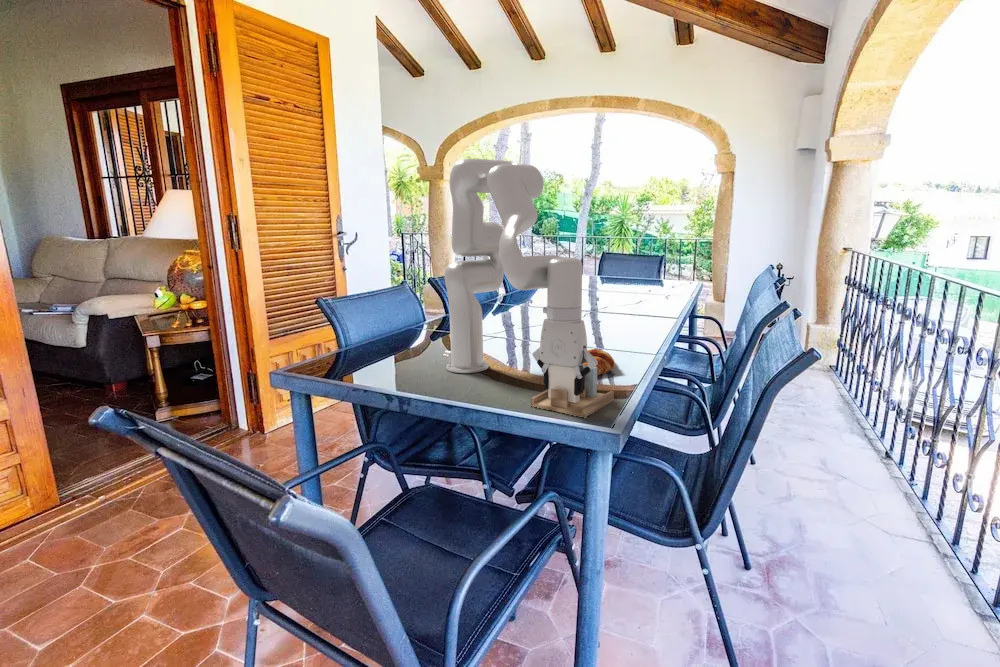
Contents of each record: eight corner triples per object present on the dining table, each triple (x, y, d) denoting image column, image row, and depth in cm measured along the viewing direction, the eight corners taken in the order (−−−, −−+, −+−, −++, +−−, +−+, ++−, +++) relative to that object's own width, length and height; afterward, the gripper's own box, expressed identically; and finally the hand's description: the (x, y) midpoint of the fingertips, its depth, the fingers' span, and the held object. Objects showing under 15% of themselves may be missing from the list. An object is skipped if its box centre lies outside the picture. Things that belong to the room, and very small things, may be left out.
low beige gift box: (548, 397, 121) (548, 364, 119) (552, 395, 123) (552, 362, 121) (575, 403, 117) (575, 368, 115) (579, 400, 118) (580, 366, 117)
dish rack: (530, 406, 122) (530, 373, 120) (562, 389, 134) (562, 359, 132) (585, 418, 114) (585, 383, 112) (613, 399, 125) (614, 367, 124)
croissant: (598, 371, 162) (587, 348, 163) (627, 359, 157) (615, 335, 158) (574, 389, 144) (562, 363, 144) (606, 376, 139) (593, 349, 139)
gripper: (522, 313, 118) (522, 389, 121) (592, 320, 108) (591, 402, 111) (539, 308, 124) (539, 381, 127) (608, 314, 114) (606, 393, 117)
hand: (563, 390), depth 119 cm, fingers closed on low beige gift box, 7 cm apart
